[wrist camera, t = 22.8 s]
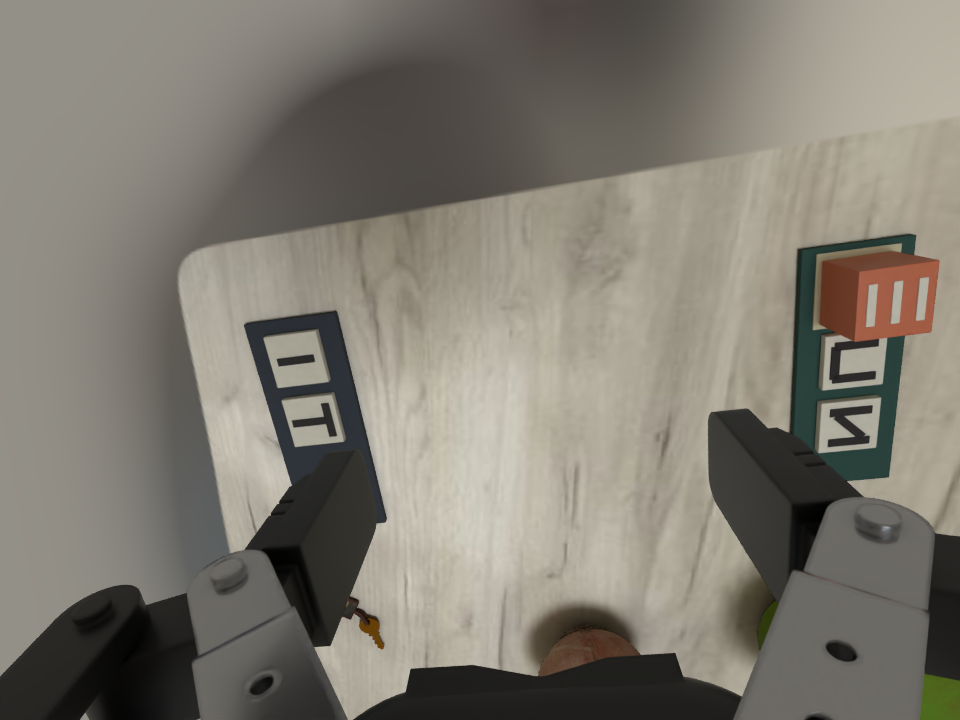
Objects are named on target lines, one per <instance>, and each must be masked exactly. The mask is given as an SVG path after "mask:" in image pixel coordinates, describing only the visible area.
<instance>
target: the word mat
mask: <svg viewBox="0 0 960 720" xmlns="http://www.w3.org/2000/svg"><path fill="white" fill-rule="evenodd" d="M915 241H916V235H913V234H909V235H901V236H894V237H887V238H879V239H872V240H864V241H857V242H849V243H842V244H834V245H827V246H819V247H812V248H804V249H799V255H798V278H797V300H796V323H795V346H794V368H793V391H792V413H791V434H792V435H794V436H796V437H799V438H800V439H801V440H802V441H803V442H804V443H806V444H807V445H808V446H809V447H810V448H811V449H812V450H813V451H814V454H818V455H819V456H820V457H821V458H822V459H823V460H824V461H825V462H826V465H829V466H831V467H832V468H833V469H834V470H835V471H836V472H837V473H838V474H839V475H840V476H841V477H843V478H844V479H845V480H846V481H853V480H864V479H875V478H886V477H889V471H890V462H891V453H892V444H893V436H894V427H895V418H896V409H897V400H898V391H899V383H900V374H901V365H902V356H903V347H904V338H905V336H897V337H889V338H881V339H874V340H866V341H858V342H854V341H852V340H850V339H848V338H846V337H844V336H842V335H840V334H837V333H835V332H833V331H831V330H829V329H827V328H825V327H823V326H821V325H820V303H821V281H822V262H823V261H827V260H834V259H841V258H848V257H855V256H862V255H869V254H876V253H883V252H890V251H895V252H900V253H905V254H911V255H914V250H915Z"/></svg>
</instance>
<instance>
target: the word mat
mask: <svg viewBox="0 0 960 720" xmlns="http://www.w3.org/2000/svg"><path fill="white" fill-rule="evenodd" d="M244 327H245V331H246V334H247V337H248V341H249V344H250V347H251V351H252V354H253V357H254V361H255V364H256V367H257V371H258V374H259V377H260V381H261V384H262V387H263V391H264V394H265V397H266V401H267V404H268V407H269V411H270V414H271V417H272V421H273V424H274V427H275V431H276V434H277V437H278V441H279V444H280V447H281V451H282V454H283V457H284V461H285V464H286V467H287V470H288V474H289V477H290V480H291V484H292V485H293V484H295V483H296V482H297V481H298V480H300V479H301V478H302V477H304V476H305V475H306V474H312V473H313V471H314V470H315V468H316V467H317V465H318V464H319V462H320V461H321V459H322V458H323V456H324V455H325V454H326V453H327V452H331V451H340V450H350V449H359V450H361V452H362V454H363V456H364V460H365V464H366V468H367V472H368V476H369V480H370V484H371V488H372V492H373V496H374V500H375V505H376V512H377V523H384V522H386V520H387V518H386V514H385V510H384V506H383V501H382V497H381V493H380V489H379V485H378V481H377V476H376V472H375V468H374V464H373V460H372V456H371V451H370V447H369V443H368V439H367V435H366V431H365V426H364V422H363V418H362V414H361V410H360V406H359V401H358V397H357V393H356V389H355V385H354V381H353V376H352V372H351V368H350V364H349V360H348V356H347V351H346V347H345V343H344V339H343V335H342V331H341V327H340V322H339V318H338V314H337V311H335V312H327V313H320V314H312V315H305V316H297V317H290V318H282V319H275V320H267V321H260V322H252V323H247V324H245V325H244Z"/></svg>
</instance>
